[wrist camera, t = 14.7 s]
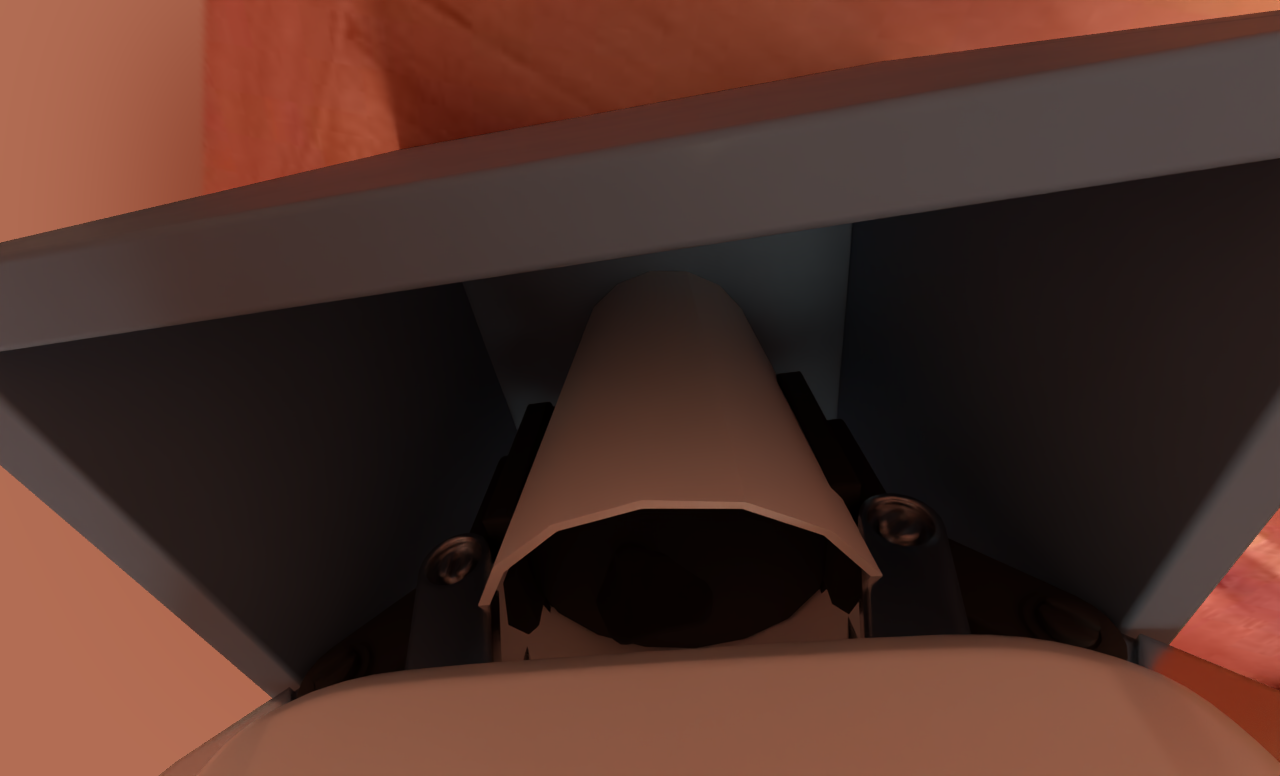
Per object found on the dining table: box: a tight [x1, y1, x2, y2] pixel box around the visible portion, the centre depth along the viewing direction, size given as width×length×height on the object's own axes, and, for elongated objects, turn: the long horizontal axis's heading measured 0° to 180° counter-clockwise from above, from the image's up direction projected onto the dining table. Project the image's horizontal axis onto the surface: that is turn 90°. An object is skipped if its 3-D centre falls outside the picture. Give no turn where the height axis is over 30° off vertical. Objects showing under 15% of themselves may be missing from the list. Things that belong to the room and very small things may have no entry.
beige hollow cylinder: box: [478, 271, 883, 662], centre depth 12 cm, size 7×7×10 cm
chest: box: [0, 10, 1280, 698], centre depth 12 cm, size 16×14×11 cm
